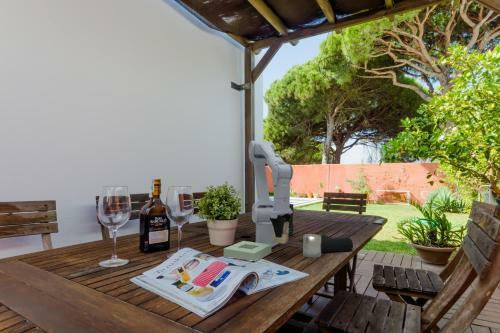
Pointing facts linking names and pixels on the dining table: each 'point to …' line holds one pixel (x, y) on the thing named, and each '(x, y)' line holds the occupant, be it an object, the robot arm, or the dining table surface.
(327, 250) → the pipe connector
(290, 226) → the storage jar
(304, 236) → the round peg
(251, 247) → the hole plate
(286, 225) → the square peg
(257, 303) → the dining table surface
